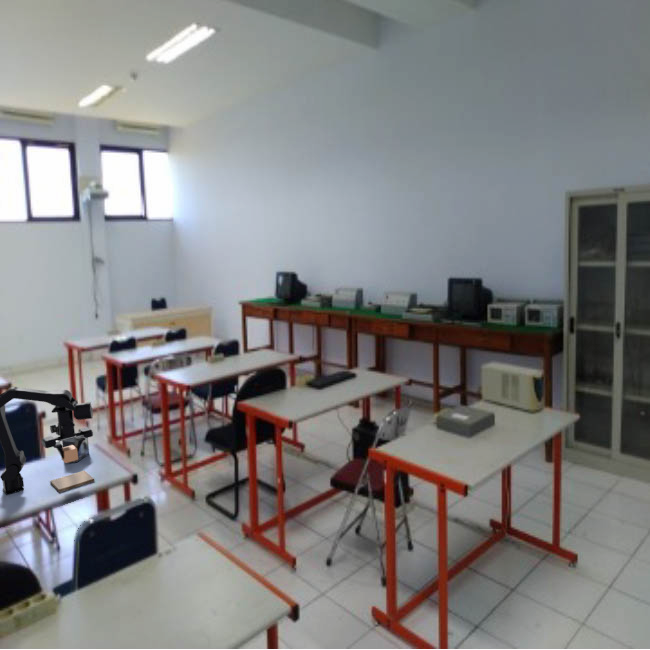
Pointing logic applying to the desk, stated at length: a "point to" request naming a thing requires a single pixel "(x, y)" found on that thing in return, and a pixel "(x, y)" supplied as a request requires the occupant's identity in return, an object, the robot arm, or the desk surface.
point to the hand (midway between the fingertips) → (69, 456)
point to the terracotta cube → (70, 454)
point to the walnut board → (72, 481)
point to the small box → (82, 451)
